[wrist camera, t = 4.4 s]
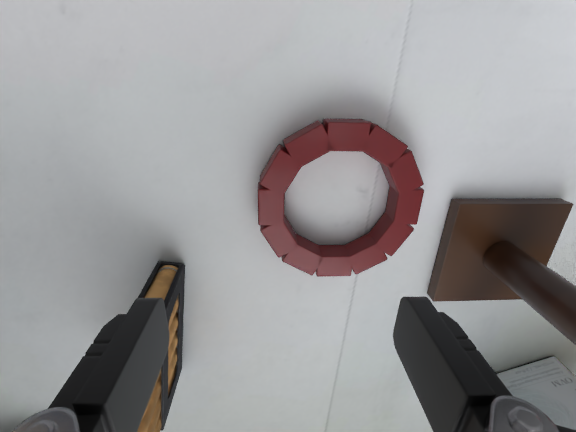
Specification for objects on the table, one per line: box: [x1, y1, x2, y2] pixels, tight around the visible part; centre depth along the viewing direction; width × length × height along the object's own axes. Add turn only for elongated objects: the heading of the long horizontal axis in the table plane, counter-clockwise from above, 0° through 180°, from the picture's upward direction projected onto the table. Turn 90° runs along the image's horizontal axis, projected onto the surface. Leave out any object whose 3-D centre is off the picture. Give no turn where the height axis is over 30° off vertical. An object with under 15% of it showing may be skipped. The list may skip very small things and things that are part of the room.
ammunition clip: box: [137, 261, 185, 432], centre depth 18 cm, size 11×2×12 cm, turn 171°
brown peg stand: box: [427, 199, 576, 345], centre depth 17 cm, size 8×8×12 cm
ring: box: [258, 119, 424, 276], centre depth 20 cm, size 10×10×2 cm
